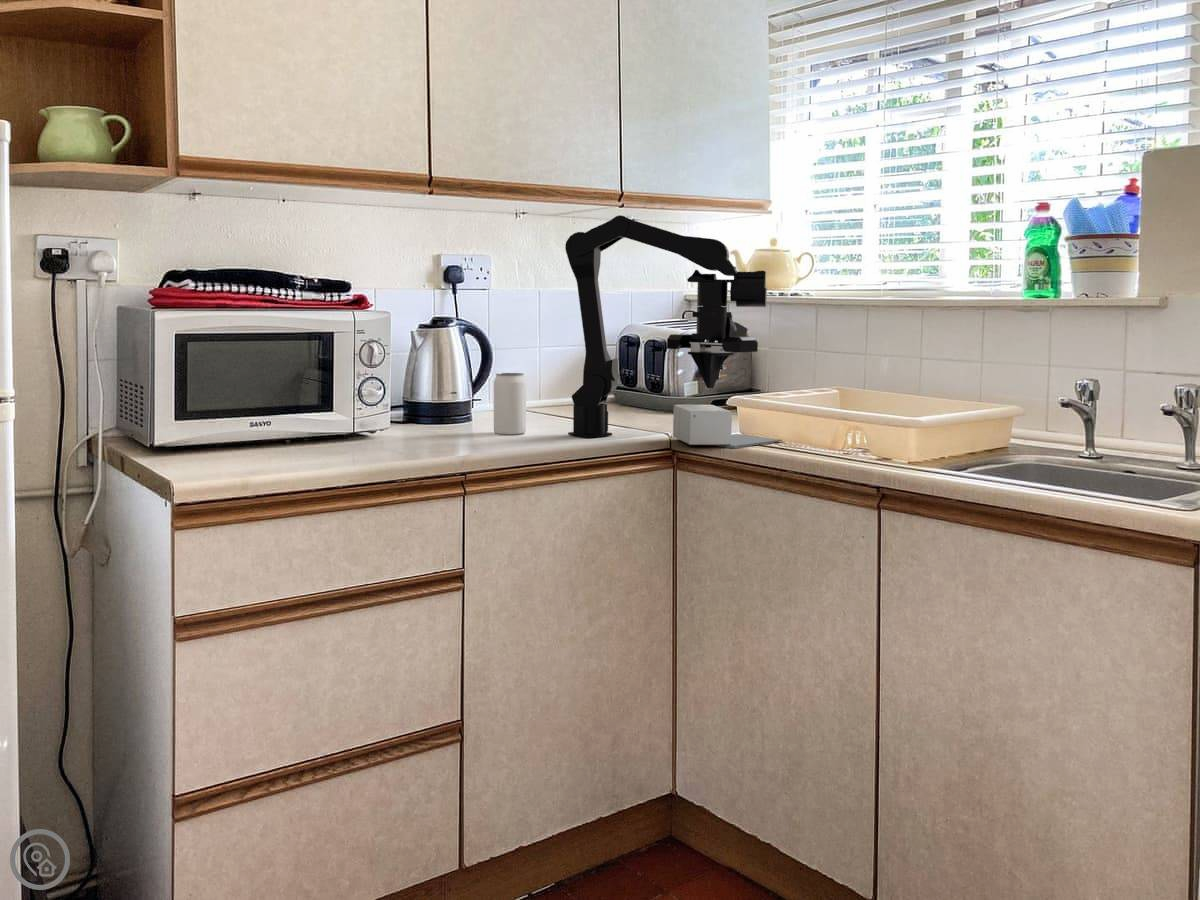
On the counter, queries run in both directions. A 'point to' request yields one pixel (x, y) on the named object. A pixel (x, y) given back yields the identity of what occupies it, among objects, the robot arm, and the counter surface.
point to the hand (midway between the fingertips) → (710, 388)
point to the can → (509, 404)
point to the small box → (702, 424)
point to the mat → (747, 441)
